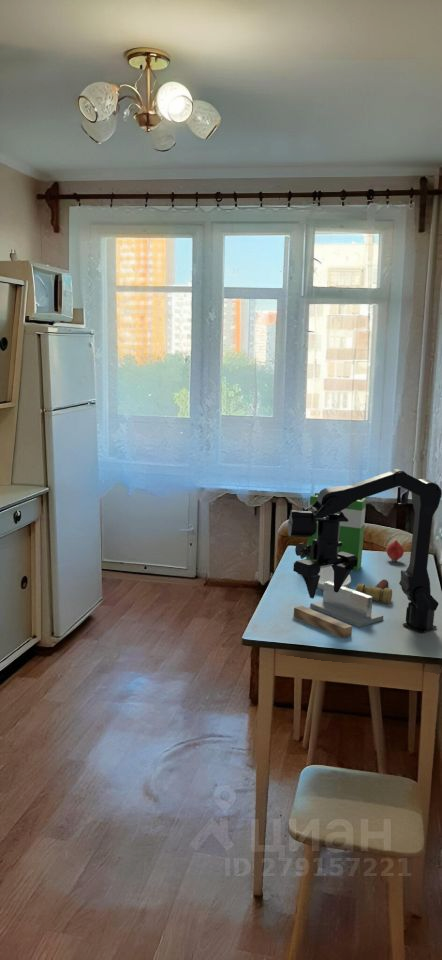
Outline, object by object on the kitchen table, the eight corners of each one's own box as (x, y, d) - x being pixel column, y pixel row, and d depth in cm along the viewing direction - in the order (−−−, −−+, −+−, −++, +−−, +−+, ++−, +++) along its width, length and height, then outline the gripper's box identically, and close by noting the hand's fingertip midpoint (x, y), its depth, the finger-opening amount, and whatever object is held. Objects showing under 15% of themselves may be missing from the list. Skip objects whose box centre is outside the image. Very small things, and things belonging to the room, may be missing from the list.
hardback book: (305, 564, 245) (310, 496, 241) (311, 559, 252) (315, 492, 248) (356, 571, 239) (362, 501, 235) (361, 566, 246) (366, 498, 242)
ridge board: (383, 619, 195) (383, 615, 194) (358, 627, 188) (359, 622, 188) (334, 600, 208) (334, 597, 208) (310, 607, 202) (310, 603, 202)
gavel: (371, 571, 229) (402, 576, 225) (370, 585, 230) (401, 591, 226) (356, 585, 210) (389, 590, 206) (354, 600, 211) (388, 606, 207)
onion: (382, 559, 256) (384, 537, 254) (397, 558, 257) (398, 537, 256) (391, 564, 250) (393, 542, 249) (405, 563, 252) (407, 541, 251)
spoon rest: (347, 598, 212) (348, 575, 211) (308, 593, 215) (309, 570, 214) (357, 576, 234) (359, 555, 233) (321, 572, 238) (323, 551, 237)
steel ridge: (371, 617, 193) (372, 596, 192) (366, 618, 191) (367, 598, 191) (327, 600, 205) (328, 581, 204) (322, 601, 204) (324, 582, 203)
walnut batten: (351, 637, 182) (352, 626, 182) (343, 639, 180) (344, 628, 180) (301, 616, 196) (301, 605, 195) (293, 618, 194) (294, 607, 194)
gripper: (329, 526, 196) (325, 581, 199) (280, 535, 184) (277, 592, 187) (360, 535, 188) (356, 592, 190) (311, 544, 176) (307, 604, 179)
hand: (324, 595), depth 187 cm, fingers open, 9 cm apart
